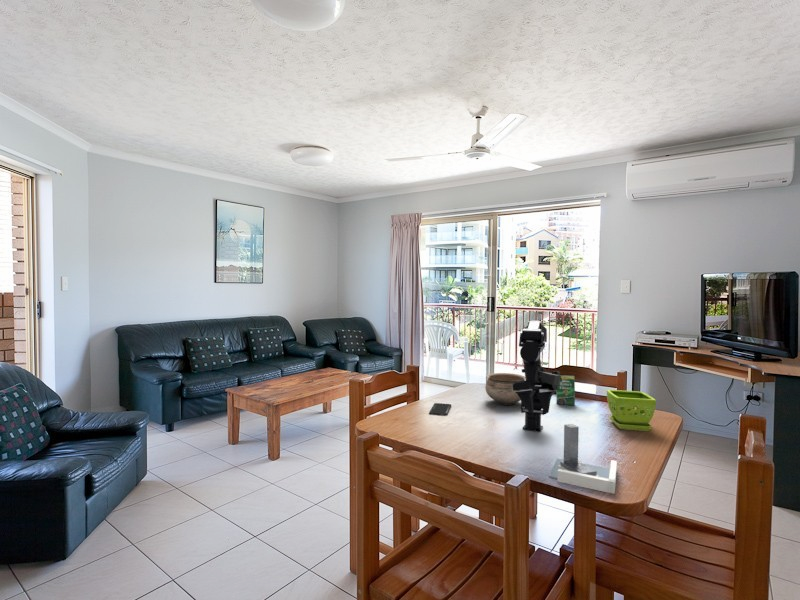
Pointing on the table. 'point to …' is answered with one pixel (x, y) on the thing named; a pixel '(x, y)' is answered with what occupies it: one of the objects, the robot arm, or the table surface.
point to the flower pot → (631, 409)
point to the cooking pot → (503, 387)
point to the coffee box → (566, 391)
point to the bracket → (573, 452)
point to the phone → (440, 409)
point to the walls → (590, 479)
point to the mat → (600, 470)
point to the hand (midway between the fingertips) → (539, 413)
